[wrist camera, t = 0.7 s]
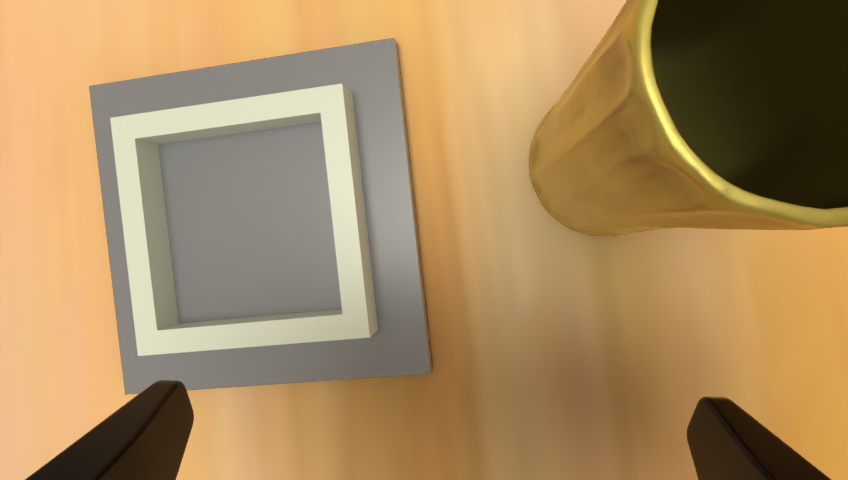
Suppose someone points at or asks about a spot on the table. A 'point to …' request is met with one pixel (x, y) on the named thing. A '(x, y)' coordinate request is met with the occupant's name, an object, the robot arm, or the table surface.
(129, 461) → the robot arm
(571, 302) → the table surface
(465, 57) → the table surface
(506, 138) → the table surface
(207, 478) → the table surface
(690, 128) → the vase
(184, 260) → the vase holder
